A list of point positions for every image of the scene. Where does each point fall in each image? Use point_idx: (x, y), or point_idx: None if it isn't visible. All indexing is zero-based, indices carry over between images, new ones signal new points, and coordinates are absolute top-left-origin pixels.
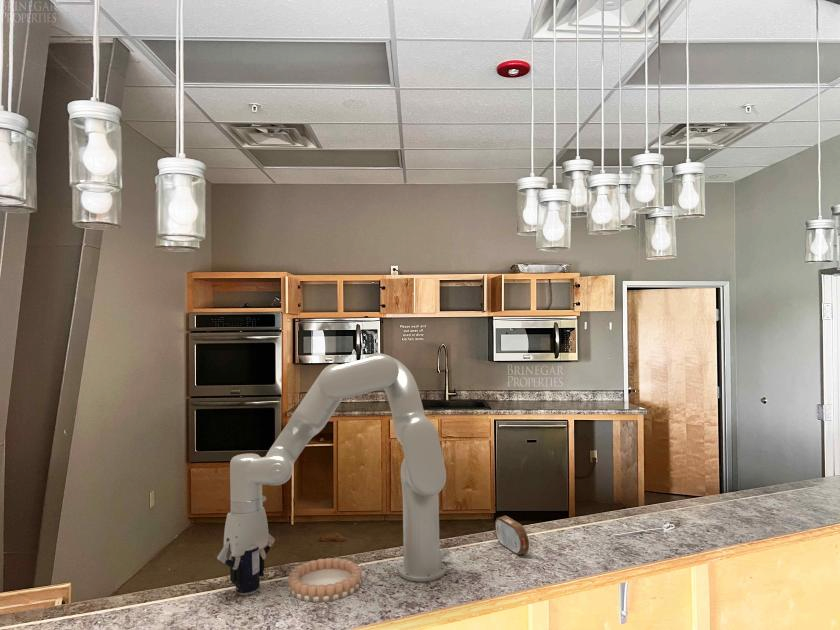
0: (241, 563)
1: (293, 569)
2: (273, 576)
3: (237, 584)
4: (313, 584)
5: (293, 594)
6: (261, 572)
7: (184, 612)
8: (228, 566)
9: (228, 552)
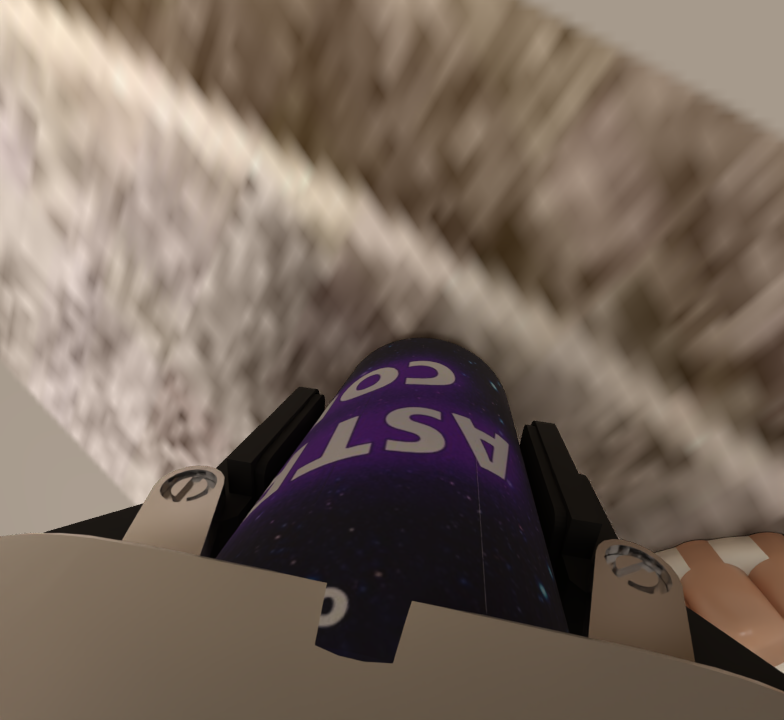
0: None
1: (762, 623)
2: (721, 369)
3: None
4: None
5: None
6: None
7: (54, 302)
8: (176, 478)
9: (62, 536)
